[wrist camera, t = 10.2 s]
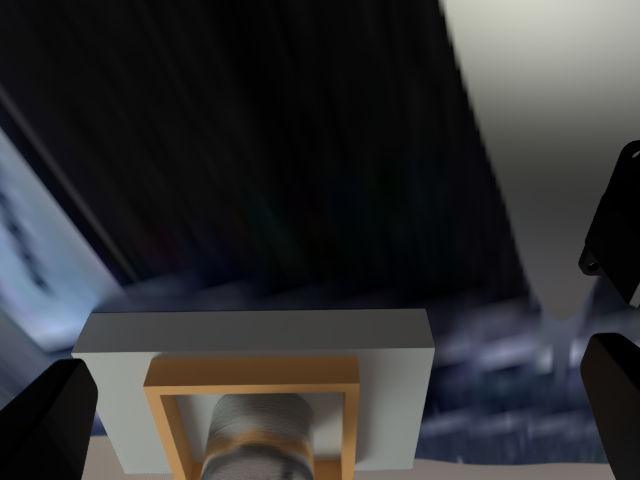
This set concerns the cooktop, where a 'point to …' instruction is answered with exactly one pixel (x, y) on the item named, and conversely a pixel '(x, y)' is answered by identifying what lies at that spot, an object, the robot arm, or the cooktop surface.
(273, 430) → the steel can
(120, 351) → the grey slab with frame
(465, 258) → the cooktop surface
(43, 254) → the cooktop surface
